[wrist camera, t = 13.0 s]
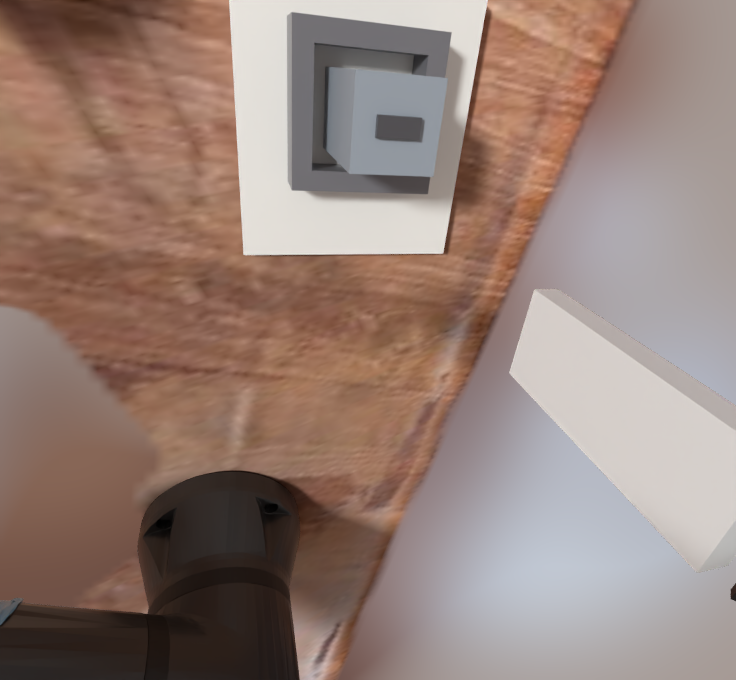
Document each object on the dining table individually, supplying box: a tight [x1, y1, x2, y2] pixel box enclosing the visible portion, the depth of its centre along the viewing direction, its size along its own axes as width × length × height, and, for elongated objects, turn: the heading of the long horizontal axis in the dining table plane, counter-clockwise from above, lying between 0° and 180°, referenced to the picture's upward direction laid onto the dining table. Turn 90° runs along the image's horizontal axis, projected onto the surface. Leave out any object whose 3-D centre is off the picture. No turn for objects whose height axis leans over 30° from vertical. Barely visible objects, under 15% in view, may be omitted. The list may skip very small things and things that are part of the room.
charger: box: [323, 66, 448, 177], centre depth 25 cm, size 4×4×8 cm
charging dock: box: [229, 0, 488, 255], centre depth 29 cm, size 16×15×4 cm
